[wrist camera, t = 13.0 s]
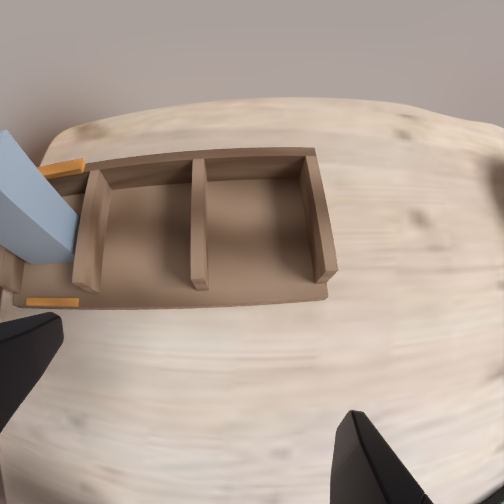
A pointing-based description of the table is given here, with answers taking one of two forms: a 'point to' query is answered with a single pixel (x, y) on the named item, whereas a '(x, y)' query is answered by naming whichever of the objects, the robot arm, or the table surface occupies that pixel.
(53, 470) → the table surface
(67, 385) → the table surface
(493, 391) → the table surface
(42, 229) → the blanking panel
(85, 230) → the rack
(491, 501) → the disk drive
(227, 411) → the table surface
